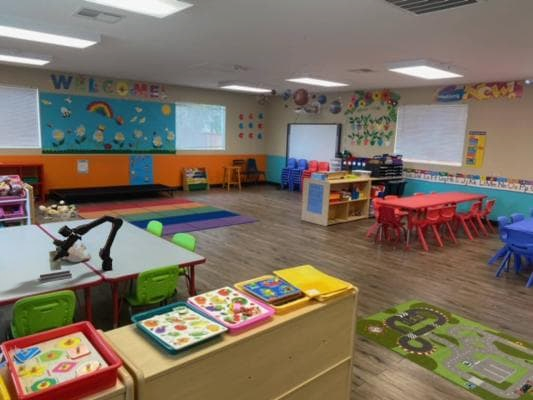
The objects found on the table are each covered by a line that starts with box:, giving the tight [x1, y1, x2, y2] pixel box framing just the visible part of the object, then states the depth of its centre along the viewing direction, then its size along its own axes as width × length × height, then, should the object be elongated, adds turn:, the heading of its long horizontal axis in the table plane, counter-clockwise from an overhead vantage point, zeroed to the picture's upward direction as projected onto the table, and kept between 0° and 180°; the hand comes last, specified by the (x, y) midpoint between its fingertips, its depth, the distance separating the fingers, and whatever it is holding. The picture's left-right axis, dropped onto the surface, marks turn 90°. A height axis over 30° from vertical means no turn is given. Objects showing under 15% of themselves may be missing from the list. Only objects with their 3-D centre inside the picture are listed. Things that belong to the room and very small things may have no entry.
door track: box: [39, 269, 73, 284], centre depth 265 cm, size 18×10×2 cm, turn 126°
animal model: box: [61, 242, 93, 264], centre depth 302 cm, size 13×26×16 cm
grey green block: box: [48, 249, 62, 272], centre depth 263 cm, size 6×4×12 cm, turn 126°
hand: (52, 259), depth 262 cm, fingers closed on grey green block, 4 cm apart
